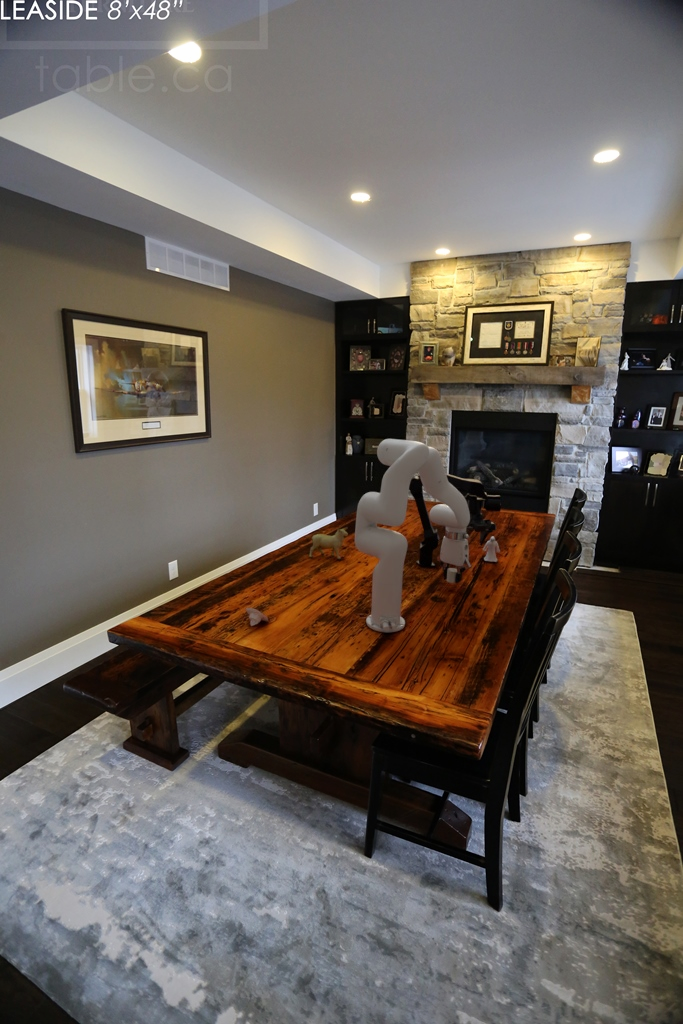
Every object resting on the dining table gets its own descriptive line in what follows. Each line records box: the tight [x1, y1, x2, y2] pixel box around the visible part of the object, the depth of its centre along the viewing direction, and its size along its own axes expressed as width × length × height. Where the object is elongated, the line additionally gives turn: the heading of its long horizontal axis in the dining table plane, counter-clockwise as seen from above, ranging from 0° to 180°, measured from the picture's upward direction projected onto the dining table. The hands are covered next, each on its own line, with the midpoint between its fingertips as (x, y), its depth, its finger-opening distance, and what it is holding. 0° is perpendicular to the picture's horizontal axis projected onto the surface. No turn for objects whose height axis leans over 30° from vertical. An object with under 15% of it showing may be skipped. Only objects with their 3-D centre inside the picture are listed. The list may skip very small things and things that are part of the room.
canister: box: [446, 567, 457, 584], centre depth 191 cm, size 4×4×4 cm
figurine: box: [482, 535, 501, 563], centre depth 223 cm, size 8×8×12 cm
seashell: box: [245, 607, 269, 627], centre depth 160 cm, size 8×5×8 cm
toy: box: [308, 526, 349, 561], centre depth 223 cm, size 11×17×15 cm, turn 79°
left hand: (452, 579), depth 192 cm, fingers closed on canister, 4 cm apart
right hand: (471, 545), depth 213 cm, fingers open, 9 cm apart
